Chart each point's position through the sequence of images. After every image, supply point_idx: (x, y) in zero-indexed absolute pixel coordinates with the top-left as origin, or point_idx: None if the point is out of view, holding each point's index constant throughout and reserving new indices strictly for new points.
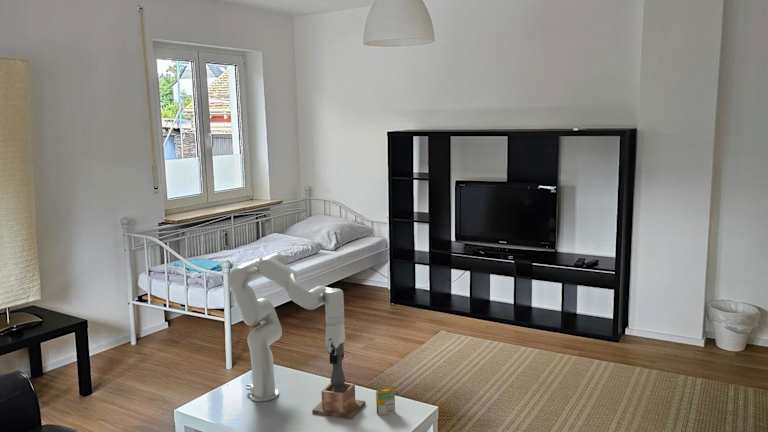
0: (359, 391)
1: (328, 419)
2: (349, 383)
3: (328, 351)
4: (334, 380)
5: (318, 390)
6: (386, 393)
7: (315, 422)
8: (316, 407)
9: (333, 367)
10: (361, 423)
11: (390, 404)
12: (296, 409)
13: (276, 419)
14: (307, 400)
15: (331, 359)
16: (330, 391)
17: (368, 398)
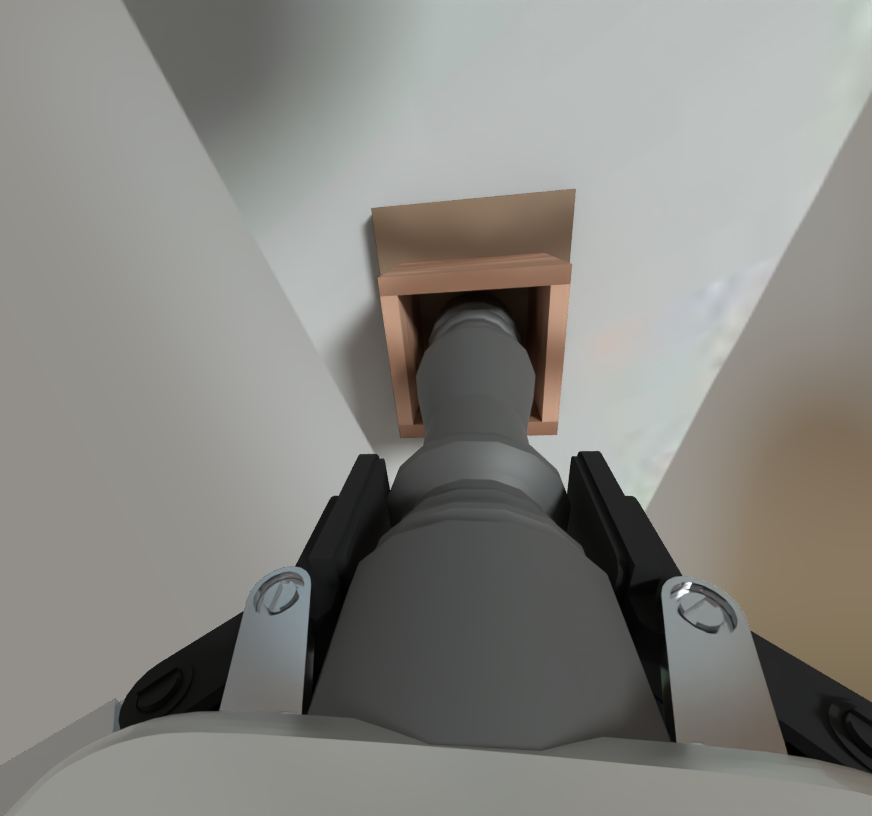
0: (698, 331)
1: (361, 325)
2: (556, 403)
3: (65, 743)
4: (418, 390)
5: (694, 33)
6: None
7: (308, 281)
8: (407, 216)
9: (428, 428)
10: (394, 459)
11: None
12: (375, 64)
13: (208, 10)
14: (515, 56)
15: (320, 531)
16: (400, 341)
17: (618, 405)
